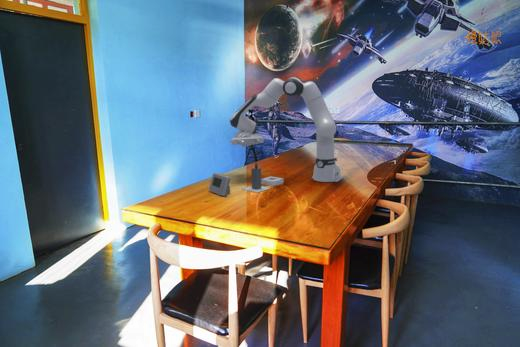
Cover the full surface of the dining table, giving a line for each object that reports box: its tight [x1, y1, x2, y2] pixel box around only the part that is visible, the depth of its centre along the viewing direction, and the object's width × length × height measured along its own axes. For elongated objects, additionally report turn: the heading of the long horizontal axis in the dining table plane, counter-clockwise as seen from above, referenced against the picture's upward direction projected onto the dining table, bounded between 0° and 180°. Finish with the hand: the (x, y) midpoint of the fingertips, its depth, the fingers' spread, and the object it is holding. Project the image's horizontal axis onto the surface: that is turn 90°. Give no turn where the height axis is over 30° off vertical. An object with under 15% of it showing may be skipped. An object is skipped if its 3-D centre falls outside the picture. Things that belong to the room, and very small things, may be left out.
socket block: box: [261, 175, 285, 187], centre depth 220 cm, size 10×10×3 cm
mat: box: [241, 185, 271, 194], centre depth 207 cm, size 12×12×1 cm
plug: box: [250, 162, 262, 190], centre depth 206 cm, size 4×4×15 cm
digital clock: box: [208, 172, 231, 197], centre depth 198 cm, size 16×9×11 cm, turn 27°
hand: (250, 142), depth 213 cm, fingers open, 8 cm apart
